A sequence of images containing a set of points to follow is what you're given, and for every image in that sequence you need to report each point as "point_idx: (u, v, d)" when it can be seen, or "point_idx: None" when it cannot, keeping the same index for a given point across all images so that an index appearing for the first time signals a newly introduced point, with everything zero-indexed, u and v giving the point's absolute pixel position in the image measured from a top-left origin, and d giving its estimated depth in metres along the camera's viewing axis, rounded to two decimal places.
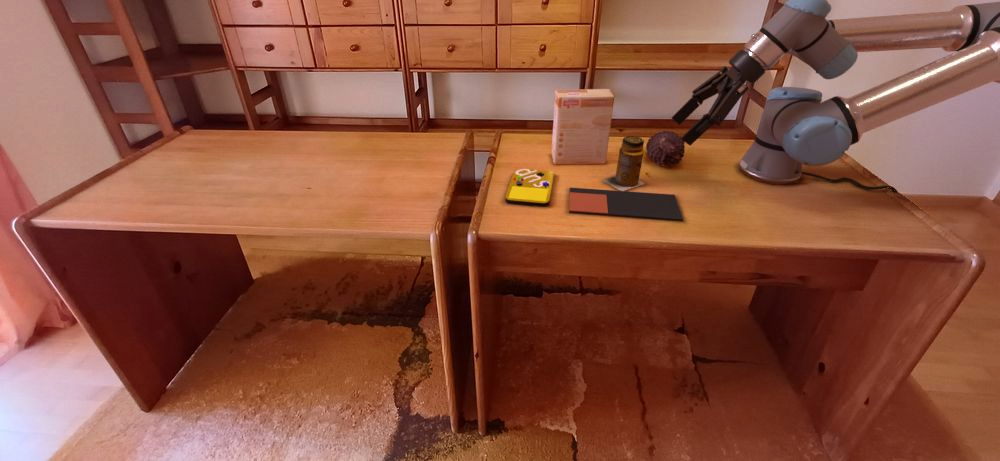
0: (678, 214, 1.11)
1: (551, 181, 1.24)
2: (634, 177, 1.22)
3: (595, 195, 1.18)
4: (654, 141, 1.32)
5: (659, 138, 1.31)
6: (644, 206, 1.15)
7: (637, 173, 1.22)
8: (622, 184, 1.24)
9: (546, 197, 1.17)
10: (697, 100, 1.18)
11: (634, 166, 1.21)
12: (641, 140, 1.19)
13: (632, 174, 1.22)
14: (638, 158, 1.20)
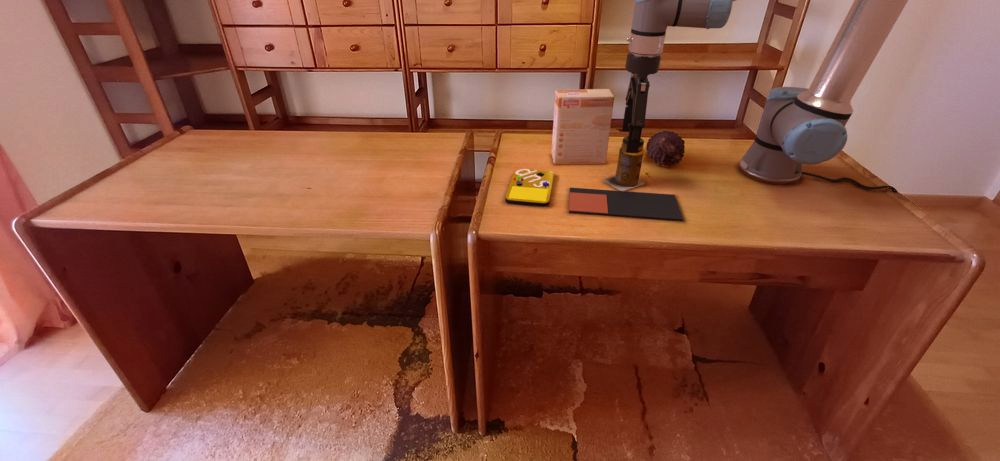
0: (678, 214, 1.11)
1: (551, 181, 1.24)
2: (634, 177, 1.22)
3: (595, 195, 1.18)
4: (654, 141, 1.32)
5: (659, 138, 1.31)
6: (644, 206, 1.15)
7: (637, 173, 1.22)
8: (622, 184, 1.24)
9: (546, 197, 1.17)
10: (632, 105, 1.22)
11: (634, 166, 1.21)
12: (641, 140, 1.19)
13: (632, 174, 1.22)
14: (638, 158, 1.20)
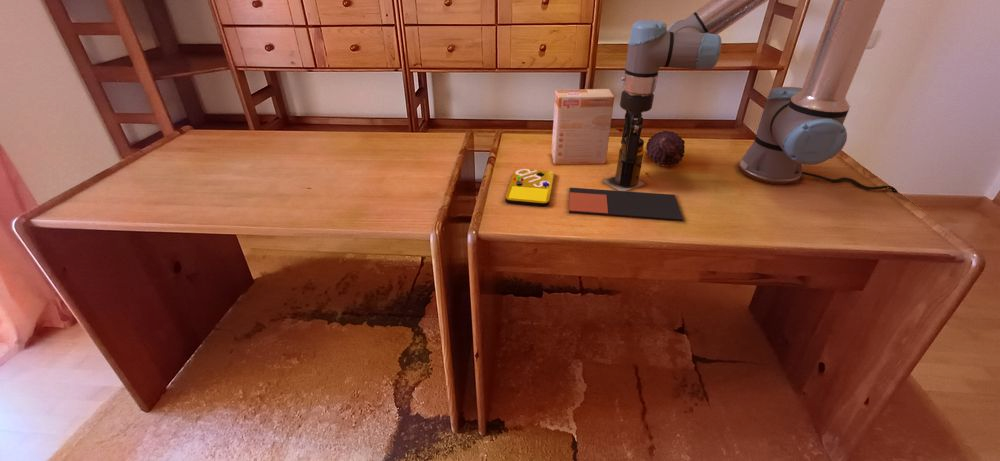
0: (678, 214, 1.11)
1: (551, 181, 1.24)
2: (634, 177, 1.22)
3: (595, 195, 1.18)
4: (654, 141, 1.32)
5: (659, 138, 1.31)
6: (644, 206, 1.15)
7: (637, 174, 1.22)
8: None
9: (546, 197, 1.17)
10: None
11: (634, 167, 1.21)
12: (641, 140, 1.19)
13: (632, 175, 1.22)
14: (638, 159, 1.20)
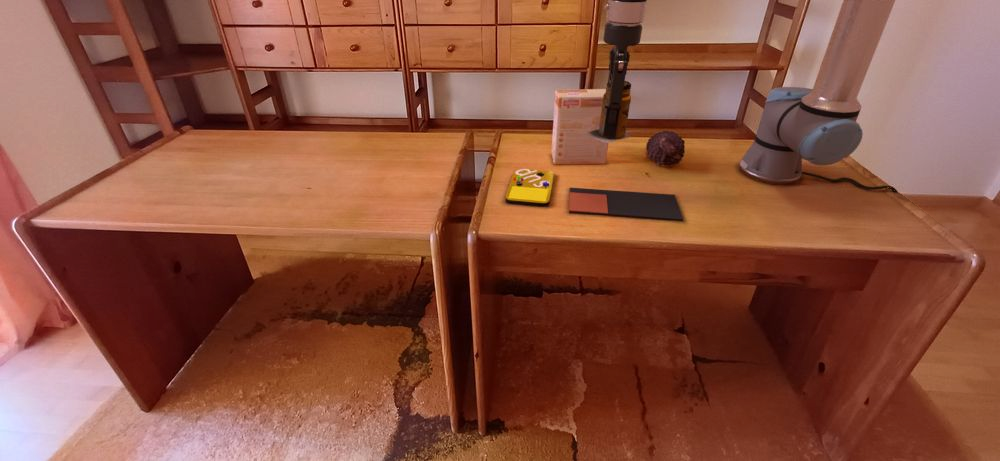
0: (678, 214, 1.11)
1: (551, 181, 1.24)
2: (619, 127, 1.07)
3: (595, 195, 1.18)
4: (654, 141, 1.32)
5: (659, 138, 1.31)
6: (644, 206, 1.15)
7: (623, 123, 1.07)
8: None
9: (546, 197, 1.17)
10: None
11: (620, 114, 1.05)
12: (628, 83, 1.04)
13: (617, 124, 1.06)
14: (624, 104, 1.04)
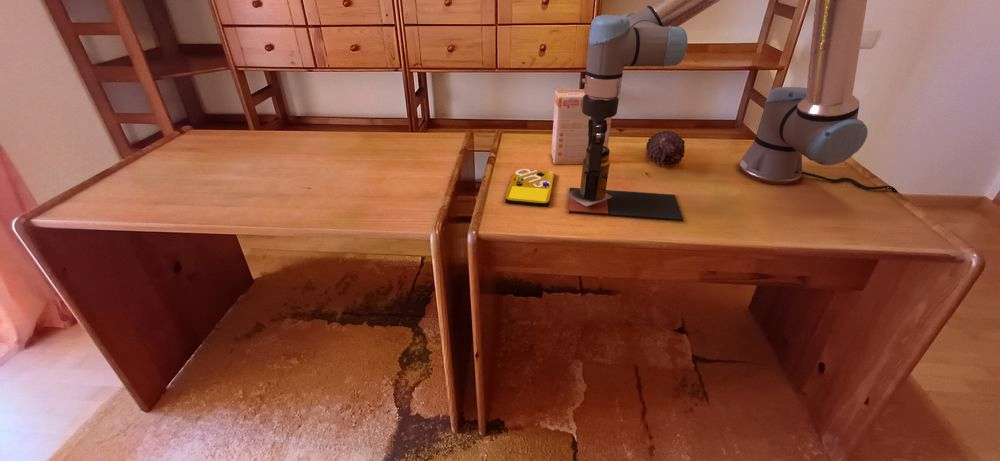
0: (678, 214, 1.11)
1: (551, 181, 1.24)
2: (599, 190, 1.10)
3: None
4: (654, 141, 1.32)
5: (659, 138, 1.31)
6: (644, 206, 1.15)
7: (602, 186, 1.10)
8: None
9: (546, 197, 1.17)
10: None
11: (600, 179, 1.09)
12: (606, 149, 1.07)
13: (597, 187, 1.10)
14: (603, 170, 1.08)
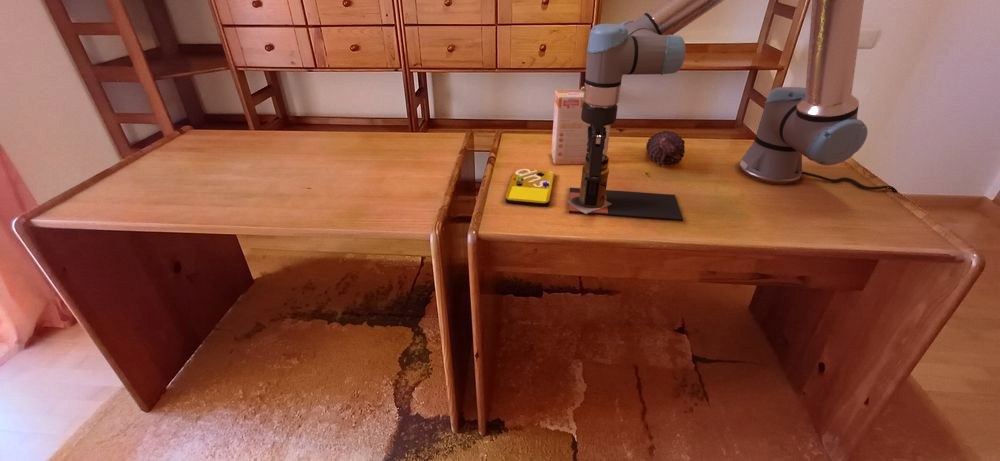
0: (678, 214, 1.11)
1: (551, 181, 1.24)
2: (598, 198, 1.11)
3: None
4: (654, 141, 1.32)
5: (659, 138, 1.31)
6: (644, 206, 1.15)
7: (601, 194, 1.11)
8: (586, 205, 1.13)
9: (546, 197, 1.17)
10: None
11: (599, 186, 1.10)
12: (605, 158, 1.08)
13: None
14: (602, 178, 1.09)
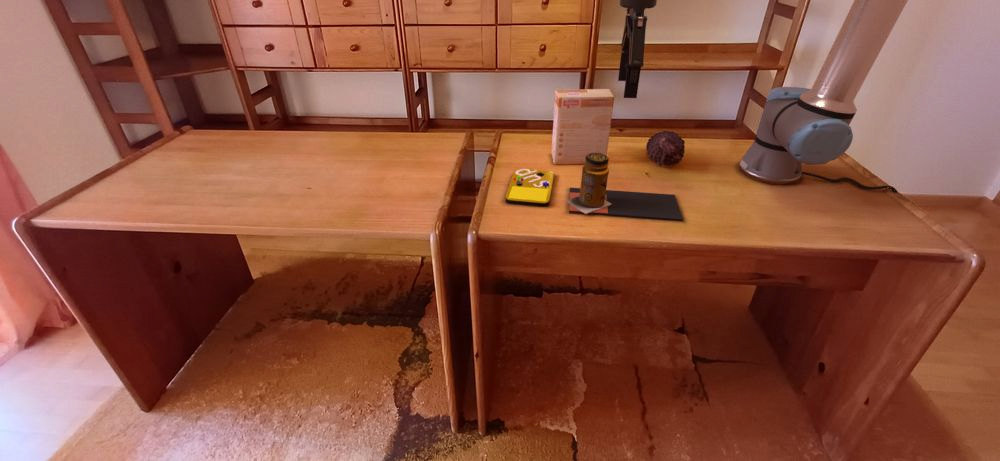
0: (678, 214, 1.11)
1: (551, 181, 1.24)
2: (598, 198, 1.11)
3: None
4: (654, 141, 1.32)
5: (659, 138, 1.31)
6: (644, 206, 1.15)
7: (601, 194, 1.11)
8: (586, 205, 1.13)
9: (546, 197, 1.17)
10: (628, 50, 1.13)
11: (599, 186, 1.10)
12: (605, 158, 1.08)
13: (596, 195, 1.11)
14: (602, 178, 1.09)
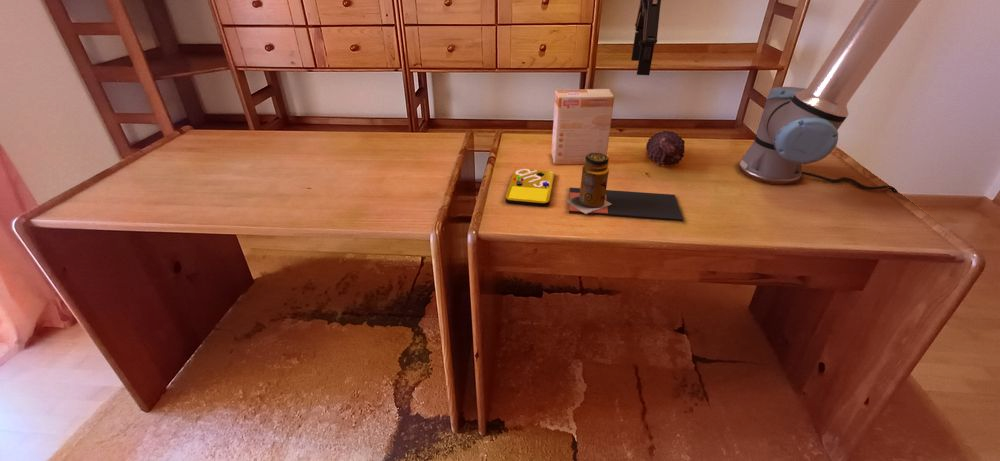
0: (678, 214, 1.11)
1: (551, 181, 1.24)
2: (598, 198, 1.11)
3: None
4: (654, 141, 1.32)
5: (659, 138, 1.31)
6: (644, 206, 1.15)
7: (601, 194, 1.11)
8: (586, 205, 1.13)
9: (546, 197, 1.17)
10: (642, 30, 1.16)
11: (599, 186, 1.10)
12: (605, 158, 1.08)
13: (596, 195, 1.11)
14: (602, 178, 1.09)
